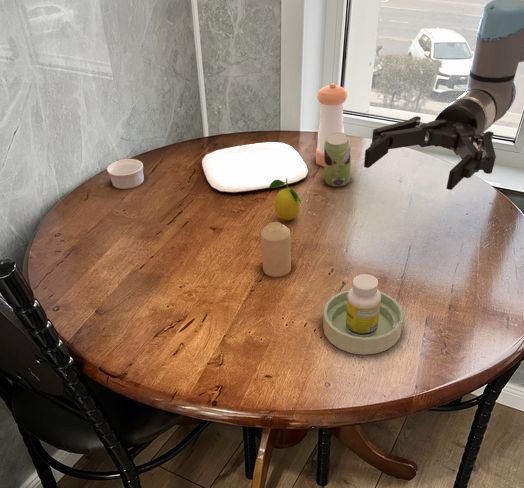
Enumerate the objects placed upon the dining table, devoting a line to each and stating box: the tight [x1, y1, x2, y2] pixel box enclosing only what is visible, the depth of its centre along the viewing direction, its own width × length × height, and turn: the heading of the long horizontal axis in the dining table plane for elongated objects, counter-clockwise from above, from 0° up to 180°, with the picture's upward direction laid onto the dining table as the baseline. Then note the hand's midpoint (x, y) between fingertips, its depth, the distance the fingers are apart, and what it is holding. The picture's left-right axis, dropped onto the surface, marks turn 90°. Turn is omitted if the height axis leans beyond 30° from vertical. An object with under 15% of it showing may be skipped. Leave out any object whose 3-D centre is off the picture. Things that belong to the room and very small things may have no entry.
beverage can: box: [324, 132, 352, 188], centre depth 126 cm, size 6×7×12 cm
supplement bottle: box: [346, 273, 381, 337], centre depth 89 cm, size 5×5×10 cm
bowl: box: [322, 289, 405, 355], centre depth 91 cm, size 13×13×4 cm
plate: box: [201, 141, 309, 194], centre depth 138 cm, size 25×25×2 cm
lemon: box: [268, 178, 302, 221], centre depth 116 cm, size 7×6×10 cm
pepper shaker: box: [315, 82, 348, 168], centre depth 133 cm, size 7×7×19 cm
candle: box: [260, 221, 292, 278], centre depth 103 cm, size 6×6×10 cm
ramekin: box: [106, 158, 145, 190], centre depth 135 cm, size 9×9×4 cm
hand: (406, 169), depth 81 cm, fingers open, 13 cm apart
